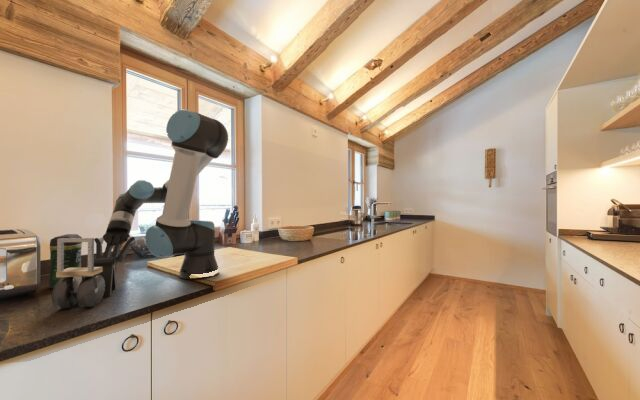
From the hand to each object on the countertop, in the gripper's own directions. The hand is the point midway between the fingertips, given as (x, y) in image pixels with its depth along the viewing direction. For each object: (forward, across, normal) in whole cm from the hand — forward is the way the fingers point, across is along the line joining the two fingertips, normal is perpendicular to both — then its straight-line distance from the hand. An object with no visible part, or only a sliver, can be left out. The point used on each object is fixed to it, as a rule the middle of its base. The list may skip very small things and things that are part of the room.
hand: (103, 278), depth 93 cm
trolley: (+12, +2, +6) cm, 14 cm away
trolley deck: (+6, +2, +13) cm, 14 cm away
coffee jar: (-6, +15, -12) cm, 21 cm away
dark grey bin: (+5, 0, -2) cm, 5 cm away
